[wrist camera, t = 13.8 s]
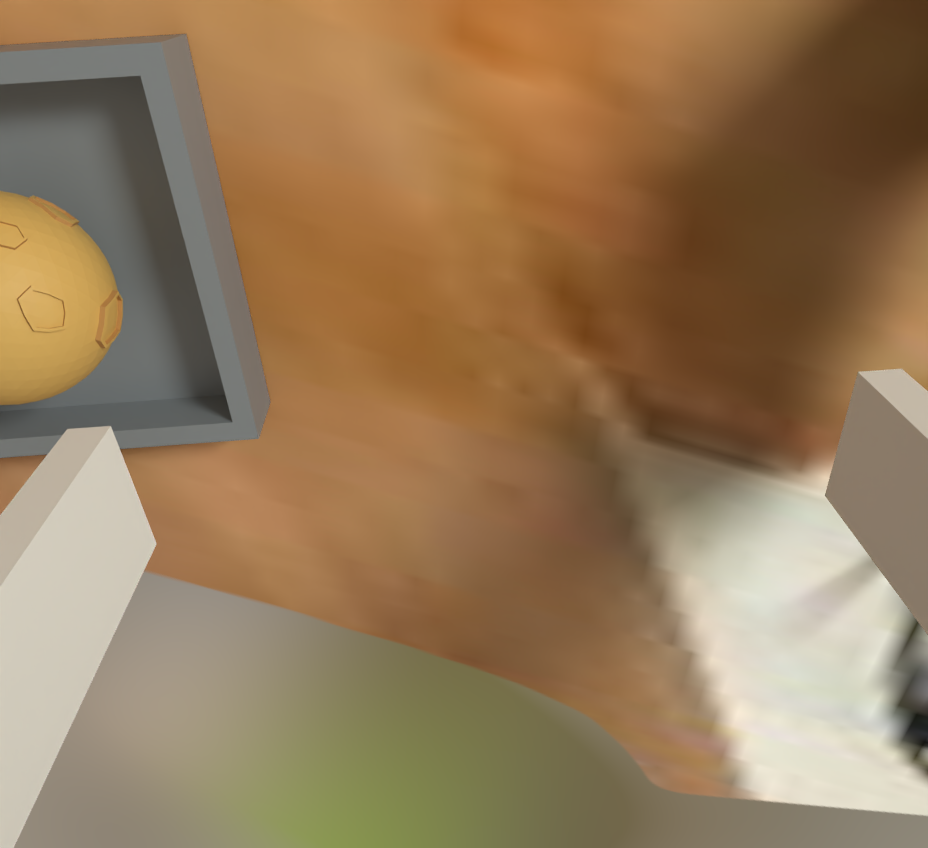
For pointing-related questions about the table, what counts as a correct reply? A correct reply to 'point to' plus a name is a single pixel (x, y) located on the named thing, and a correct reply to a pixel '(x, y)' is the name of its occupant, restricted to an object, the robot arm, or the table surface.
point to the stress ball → (51, 301)
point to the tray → (135, 240)
